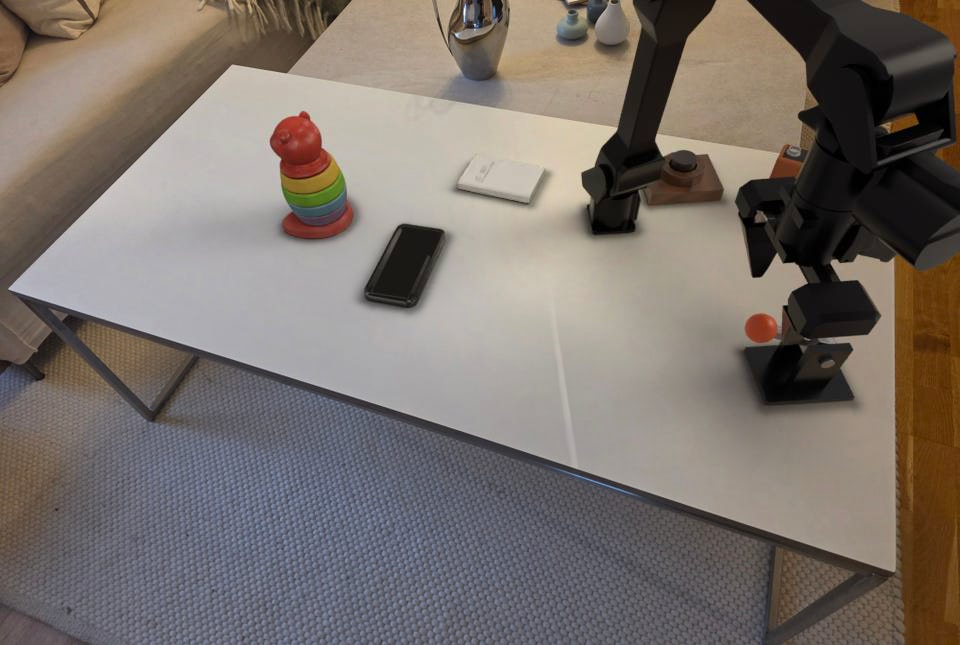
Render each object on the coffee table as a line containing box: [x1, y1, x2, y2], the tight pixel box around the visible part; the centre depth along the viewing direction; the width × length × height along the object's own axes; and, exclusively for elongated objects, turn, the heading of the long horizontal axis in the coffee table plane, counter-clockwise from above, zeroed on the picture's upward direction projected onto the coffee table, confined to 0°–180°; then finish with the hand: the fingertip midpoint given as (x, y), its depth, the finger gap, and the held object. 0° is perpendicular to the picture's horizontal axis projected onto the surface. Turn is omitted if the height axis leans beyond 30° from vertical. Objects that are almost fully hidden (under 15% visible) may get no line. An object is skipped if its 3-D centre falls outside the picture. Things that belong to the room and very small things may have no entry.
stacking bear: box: [269, 110, 354, 239], centre depth 87 cm, size 11×10×18 cm
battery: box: [769, 143, 810, 178], centre depth 85 cm, size 4×7×10 cm, turn 58°
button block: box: [643, 151, 725, 206], centre depth 92 cm, size 11×9×4 cm
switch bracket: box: [743, 340, 856, 407], centre depth 67 cm, size 10×8×9 cm
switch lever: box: [744, 312, 838, 353], centre depth 64 cm, size 11×3×3 cm, turn 91°
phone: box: [363, 223, 447, 308], centre depth 86 cm, size 8×1×15 cm
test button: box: [671, 149, 697, 173], centre depth 90 cm, size 4×4×2 cm
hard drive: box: [457, 154, 546, 204], centre depth 97 cm, size 2×8×12 cm
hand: (771, 308), depth 61 cm, fingers open, 9 cm apart
